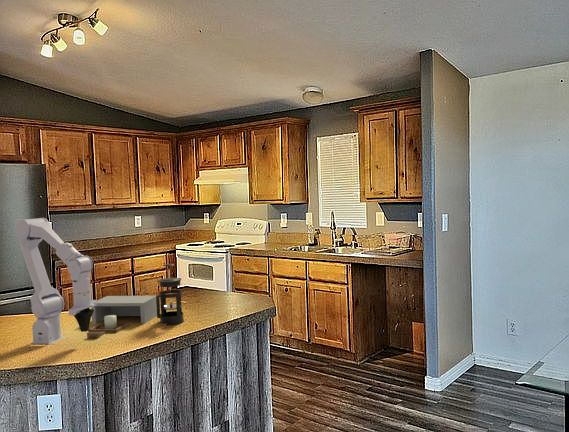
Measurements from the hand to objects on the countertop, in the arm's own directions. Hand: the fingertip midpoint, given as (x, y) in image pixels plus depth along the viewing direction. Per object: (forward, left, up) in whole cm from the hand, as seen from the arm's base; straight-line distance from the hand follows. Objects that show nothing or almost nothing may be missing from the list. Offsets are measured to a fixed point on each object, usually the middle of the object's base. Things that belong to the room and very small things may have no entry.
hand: (84, 331), depth 179 cm
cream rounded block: (+18, 0, -4) cm, 19 cm away
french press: (+29, -20, -5) cm, 35 cm away
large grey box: (+31, 0, -5) cm, 31 cm away
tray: (+13, 0, -5) cm, 14 cm away
